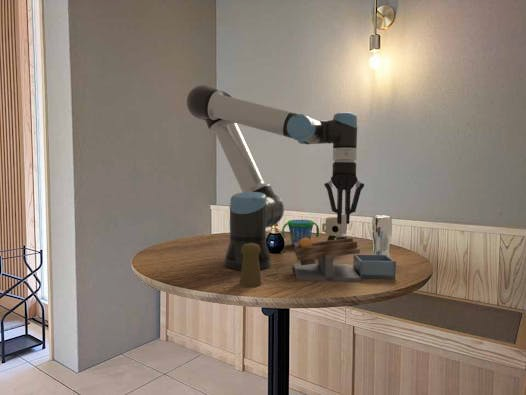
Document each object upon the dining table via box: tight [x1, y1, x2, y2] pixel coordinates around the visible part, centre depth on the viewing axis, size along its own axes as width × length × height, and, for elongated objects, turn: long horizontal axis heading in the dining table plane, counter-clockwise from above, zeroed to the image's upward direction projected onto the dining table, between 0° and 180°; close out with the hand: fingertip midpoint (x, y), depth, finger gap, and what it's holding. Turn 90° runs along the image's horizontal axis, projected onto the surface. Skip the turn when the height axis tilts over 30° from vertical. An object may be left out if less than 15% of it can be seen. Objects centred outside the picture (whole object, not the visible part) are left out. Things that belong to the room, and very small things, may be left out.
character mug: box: [321, 216, 348, 241], centre depth 151 cm, size 11×7×13 cm, turn 111°
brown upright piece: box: [239, 243, 262, 287], centre depth 108 cm, size 6×6×11 cm
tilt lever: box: [293, 235, 361, 265], centre depth 123 cm, size 18×20×6 cm
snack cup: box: [281, 219, 320, 247], centre depth 163 cm, size 16×10×10 cm
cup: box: [352, 253, 397, 280], centre depth 119 cm, size 10×9×5 cm
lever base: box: [293, 255, 362, 282], centre depth 119 cm, size 18×16×7 cm
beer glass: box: [371, 215, 393, 258], centre depth 141 cm, size 7×7×15 cm
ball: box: [299, 238, 313, 248], centre depth 119 cm, size 4×4×4 cm
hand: (343, 233), depth 130 cm, fingers closed
